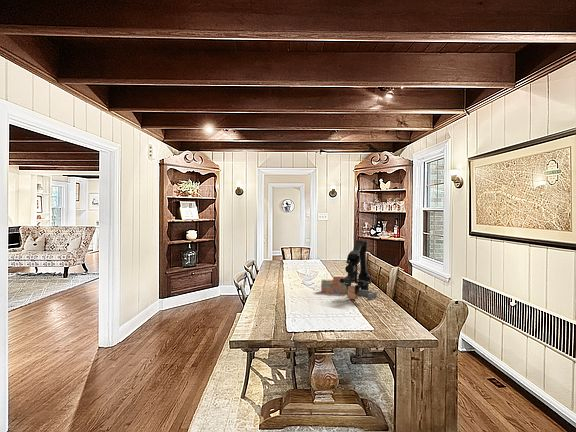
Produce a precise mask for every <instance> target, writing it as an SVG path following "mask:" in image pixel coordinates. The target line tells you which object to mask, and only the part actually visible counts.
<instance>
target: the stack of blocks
mask: <svg viewBox="0 0 576 432" xmlns="http://www.w3.org/2000/svg"><path fill="white" fill-rule="evenodd" d="M346 276H347V275H338V274H337V275H336V274H335V275H333V278H331V279H330V278H321V286H320V288H321V289H320V290H321V291H320V292H321V293H327V294H328V293H330V294H348V290H347V287H346V285H344V283H340V279H341V278H345V277H346Z"/></svg>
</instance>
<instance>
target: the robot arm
mask: <svg viewBox="0 0 576 432" xmlns="http://www.w3.org/2000/svg"><path fill="white" fill-rule="evenodd" d="M368 249H369V242H368V241H365V240H363V239H356V240H355V245H354V247H353V248H352V251H351V250H350V252H349V253H348V255H347V258H346V264H347V265H346V267H345V268H344V269H345V273H347V275H345V276H346V277H345V278H341V279H340V283H344V285H346V287H347V290H348V286H352V284H356V285H354V286H355V287H356V291H355V294H356V295H357V293H358V291H359V289H360V290H367V291H370V290H369V286H370V284H372V278H371V276H370V272H369V271H368V268H367V267H368V266H367V264H368V263H367V251H368ZM359 263H360V272H359V271H358V270H359V269H358V265H359Z"/></svg>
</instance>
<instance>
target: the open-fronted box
mask: <svg viewBox="0 0 576 432" xmlns="http://www.w3.org/2000/svg"><path fill="white" fill-rule="evenodd" d="M377 295H378V292H377V291H372V290H369V291H367V290H361V288H360V289H359V291H358V296H361V297H367V300H368V301H371V300H374V299H377V297H378V296H377Z"/></svg>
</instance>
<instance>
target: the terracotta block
mask: <svg viewBox="0 0 576 432" xmlns="http://www.w3.org/2000/svg"><path fill="white" fill-rule="evenodd" d="M355 291H356V287H355V285H351V286H348V293H347V299H351V300H355V299H356V300H357V299H358V298H359V295H358V293H357V295H356V294H355Z"/></svg>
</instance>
